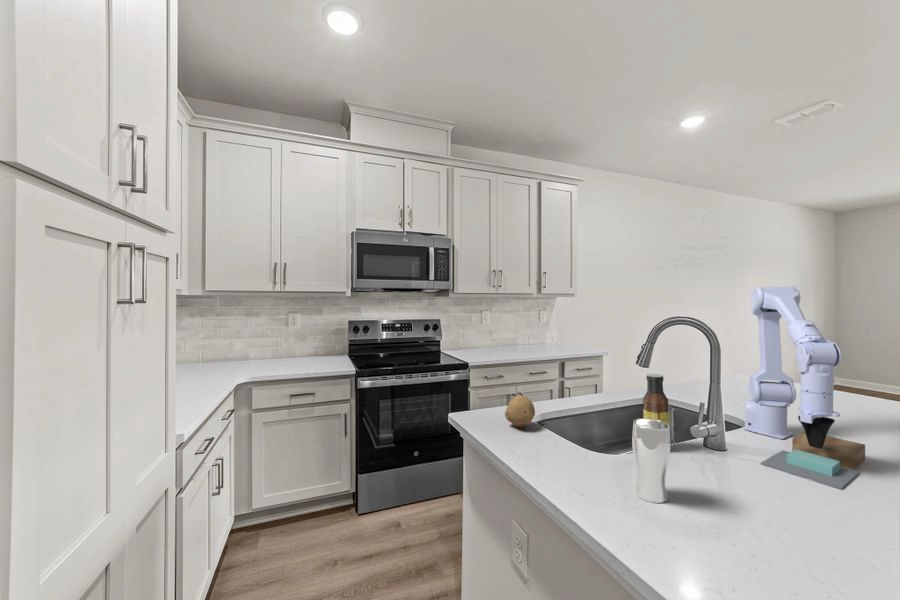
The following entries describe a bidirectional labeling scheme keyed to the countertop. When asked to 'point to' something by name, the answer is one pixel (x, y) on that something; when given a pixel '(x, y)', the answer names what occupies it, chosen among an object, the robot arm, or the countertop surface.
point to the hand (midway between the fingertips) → (815, 446)
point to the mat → (811, 471)
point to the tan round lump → (520, 411)
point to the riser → (834, 450)
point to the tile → (813, 462)
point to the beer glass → (651, 458)
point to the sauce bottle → (655, 400)
